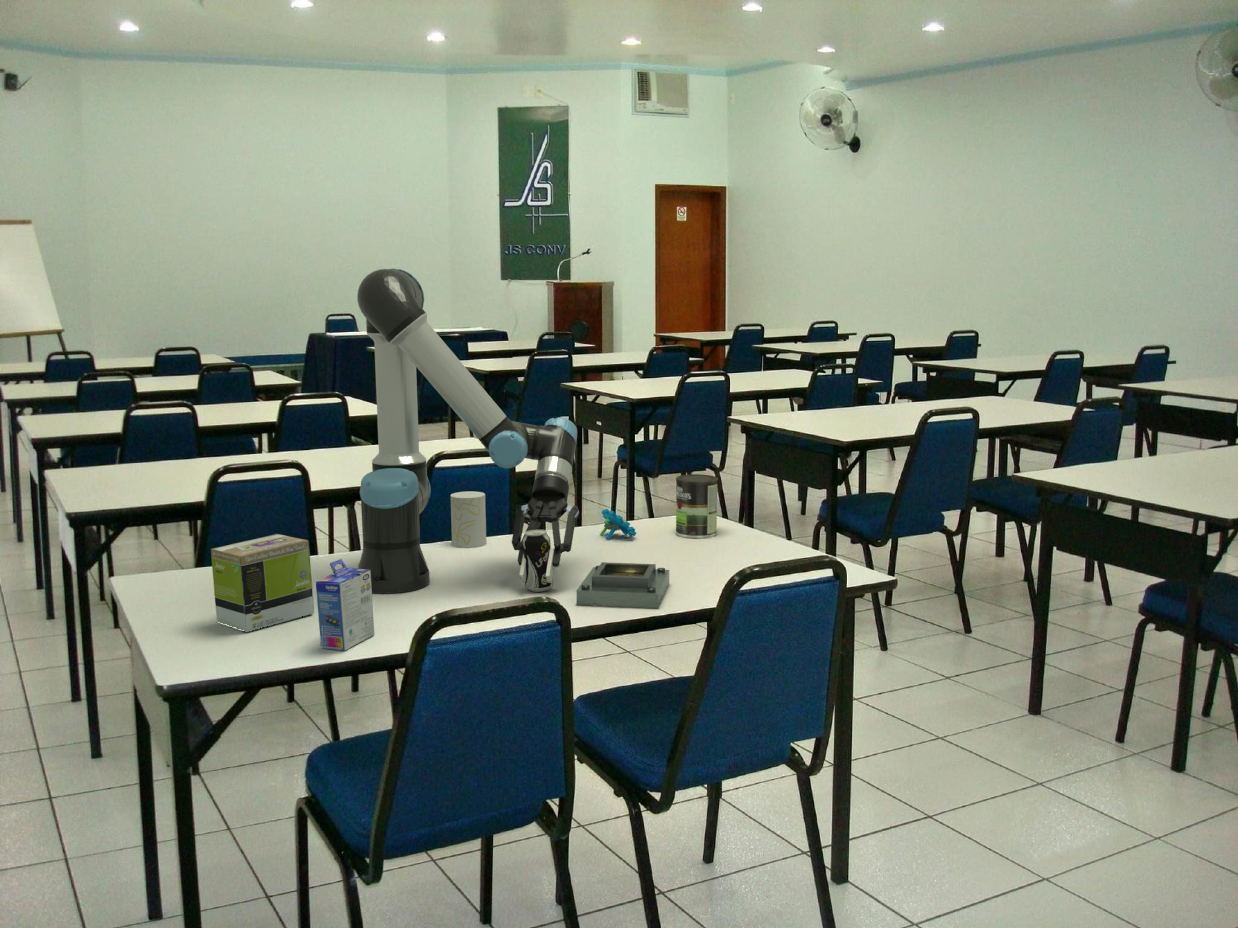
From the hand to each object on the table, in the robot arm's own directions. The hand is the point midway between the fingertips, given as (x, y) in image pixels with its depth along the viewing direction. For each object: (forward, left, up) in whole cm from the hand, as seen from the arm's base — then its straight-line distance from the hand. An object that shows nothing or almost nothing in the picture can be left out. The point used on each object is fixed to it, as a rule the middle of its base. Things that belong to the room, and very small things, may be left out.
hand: (535, 578), depth 232 cm
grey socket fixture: (+15, -9, -3) cm, 18 cm away
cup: (+6, +48, -4) cm, 48 cm away
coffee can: (+58, +28, -4) cm, 65 cm away
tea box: (-51, +12, -4) cm, 52 cm away
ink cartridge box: (-42, -9, -4) cm, 43 cm away
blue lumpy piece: (+40, +35, -4) cm, 53 cm away
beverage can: (+2, +3, -3) cm, 5 cm away
